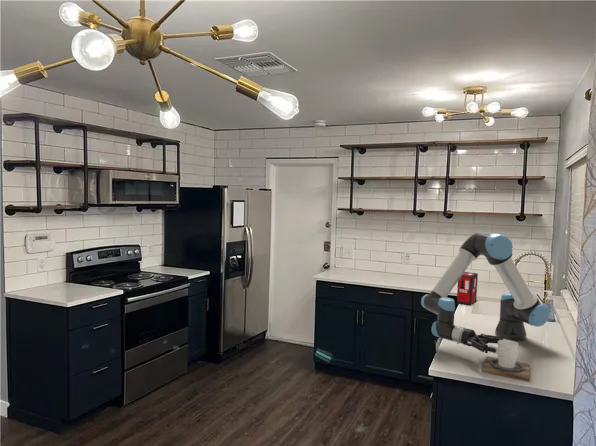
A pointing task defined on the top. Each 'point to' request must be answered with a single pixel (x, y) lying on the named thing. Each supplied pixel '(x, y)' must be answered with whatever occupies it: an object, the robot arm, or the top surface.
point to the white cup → (507, 353)
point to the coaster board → (507, 369)
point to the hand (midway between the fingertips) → (511, 349)
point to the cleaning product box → (467, 288)
